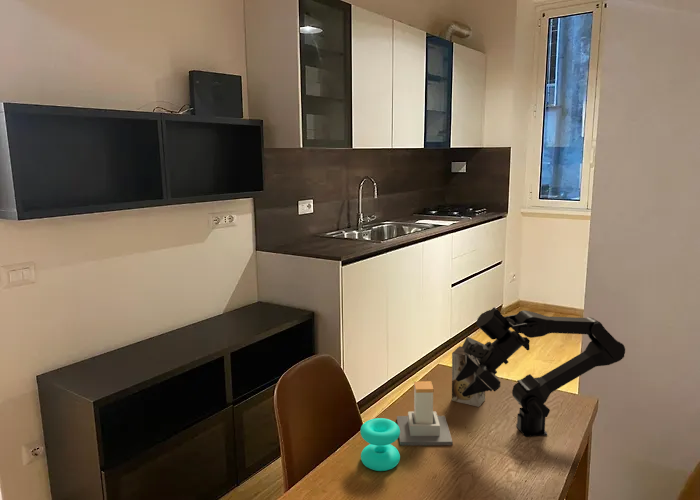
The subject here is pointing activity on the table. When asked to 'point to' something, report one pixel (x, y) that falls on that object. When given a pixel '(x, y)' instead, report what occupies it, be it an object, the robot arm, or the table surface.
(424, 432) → the socket
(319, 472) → the table surface
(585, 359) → the robot arm
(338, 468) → the table surface
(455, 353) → the coffee box
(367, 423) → the donuts
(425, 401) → the plug
